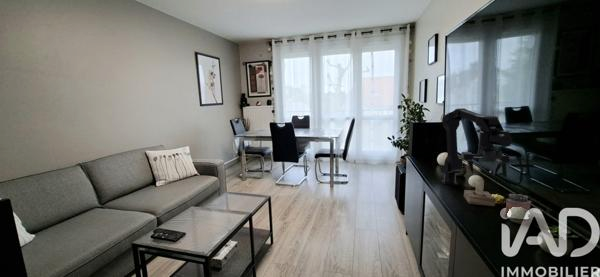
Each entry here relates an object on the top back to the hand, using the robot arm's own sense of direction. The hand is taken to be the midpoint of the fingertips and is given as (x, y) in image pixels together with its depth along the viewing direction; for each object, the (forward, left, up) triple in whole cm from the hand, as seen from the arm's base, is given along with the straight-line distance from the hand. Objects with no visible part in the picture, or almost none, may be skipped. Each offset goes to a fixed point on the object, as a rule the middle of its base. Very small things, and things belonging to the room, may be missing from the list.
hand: (482, 174), depth 123 cm
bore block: (+5, -2, -12) cm, 13 cm away
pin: (+5, -2, -11) cm, 12 cm away
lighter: (+20, +7, -12) cm, 24 cm away
